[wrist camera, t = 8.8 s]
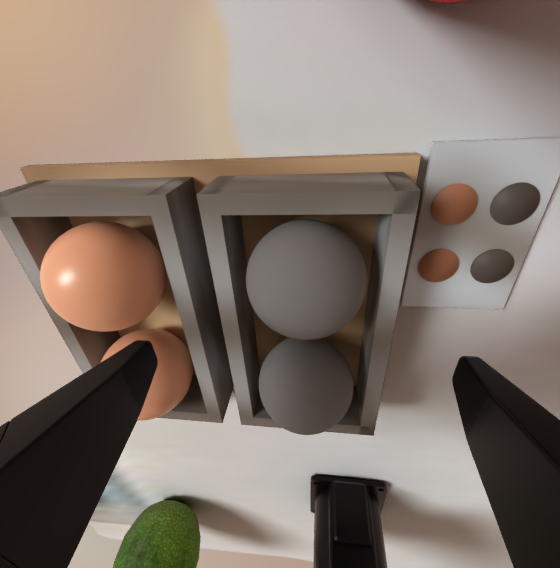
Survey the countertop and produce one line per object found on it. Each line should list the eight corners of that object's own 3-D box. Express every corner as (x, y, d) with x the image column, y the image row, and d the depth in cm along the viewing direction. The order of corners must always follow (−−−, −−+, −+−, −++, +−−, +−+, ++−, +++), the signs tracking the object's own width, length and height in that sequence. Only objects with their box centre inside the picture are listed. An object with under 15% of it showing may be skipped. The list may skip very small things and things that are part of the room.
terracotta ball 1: (191, 292, 17) (148, 358, 13) (109, 290, 18) (43, 352, 14) (170, 205, 14) (107, 252, 10) (74, 206, 15) (-21, 251, 11)
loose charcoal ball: (364, 201, 13) (385, 253, 9) (355, 296, 16) (368, 369, 12) (252, 203, 14) (223, 252, 10) (261, 294, 17) (241, 363, 12)
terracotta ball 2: (210, 371, 21) (182, 443, 16) (141, 367, 21) (96, 435, 17) (196, 312, 18) (157, 380, 14) (117, 309, 19) (57, 374, 14)
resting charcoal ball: (347, 379, 19) (353, 459, 15) (269, 375, 20) (255, 450, 16) (353, 318, 17) (363, 394, 13) (263, 315, 17) (244, 386, 13)
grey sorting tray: (461, 399, 20) (484, 451, 17) (128, 377, 23) (100, 418, 20) (570, 136, 12) (649, 152, 9) (25, 156, 15) (-46, 172, 12)
